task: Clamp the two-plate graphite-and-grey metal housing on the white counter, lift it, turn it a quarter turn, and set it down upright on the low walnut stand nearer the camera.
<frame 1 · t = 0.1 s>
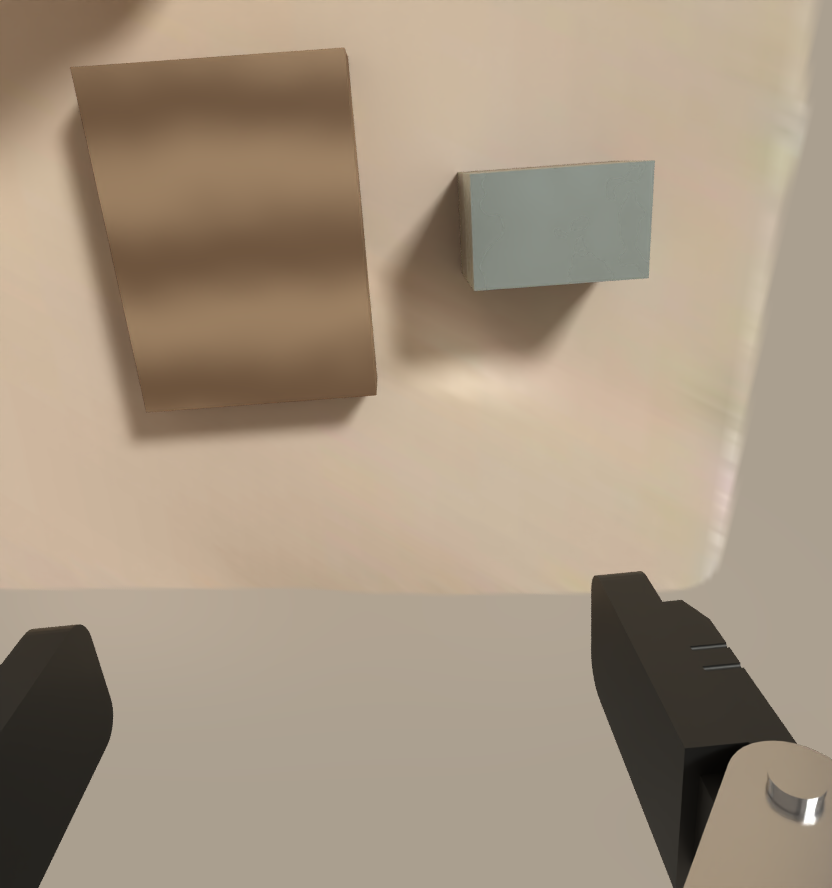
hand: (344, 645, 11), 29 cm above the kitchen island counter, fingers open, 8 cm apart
walnut stand: (248, 239, 37), on the kitchen island counter
housing: (535, 218, 37), on the kitchen island counter
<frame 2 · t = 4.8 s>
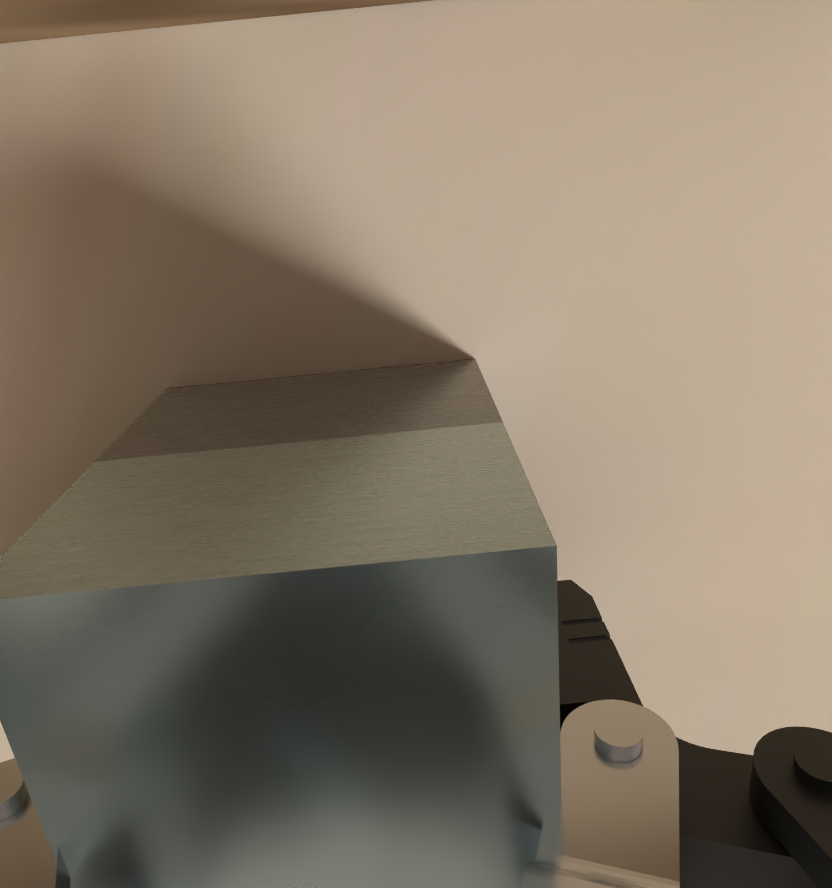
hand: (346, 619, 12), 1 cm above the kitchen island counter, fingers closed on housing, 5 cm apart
housing: (351, 584, 13), on the kitchen island counter, touching gripper
when the fingers open (4 cm above the kitchen island counter, at t = 12.4 s): housing stays where it is, resting on walnut stand.
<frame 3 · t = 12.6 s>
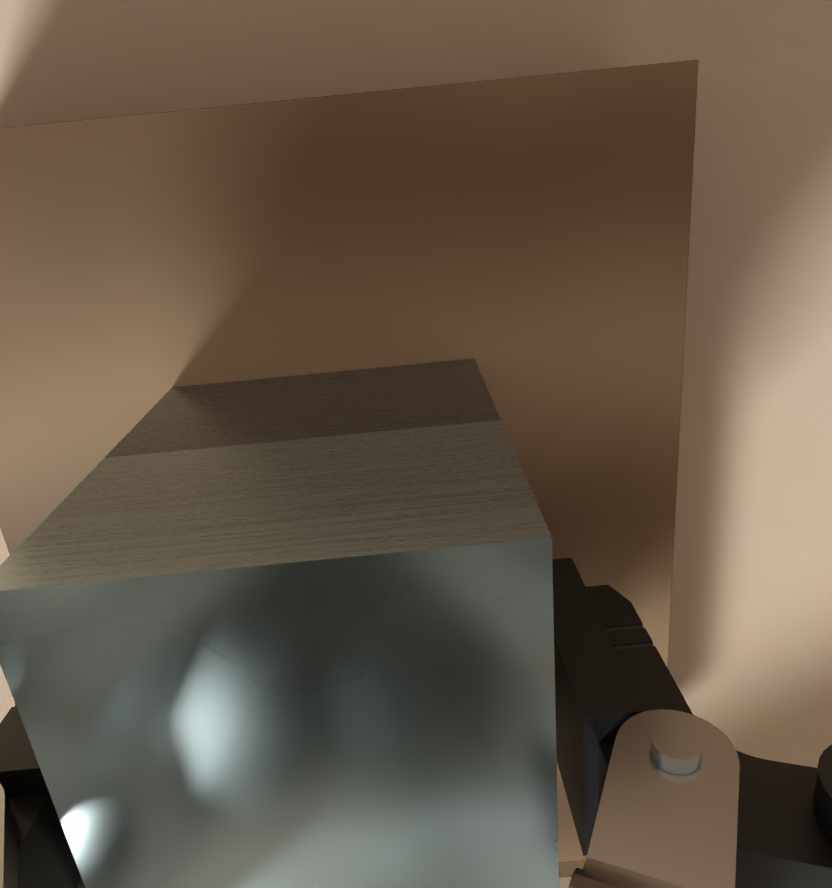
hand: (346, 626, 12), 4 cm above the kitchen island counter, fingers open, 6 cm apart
walnut stand: (357, 504, 16), on the kitchen island counter
housing: (352, 580, 13), point 3 cm above the kitchen island counter, touching walnut stand
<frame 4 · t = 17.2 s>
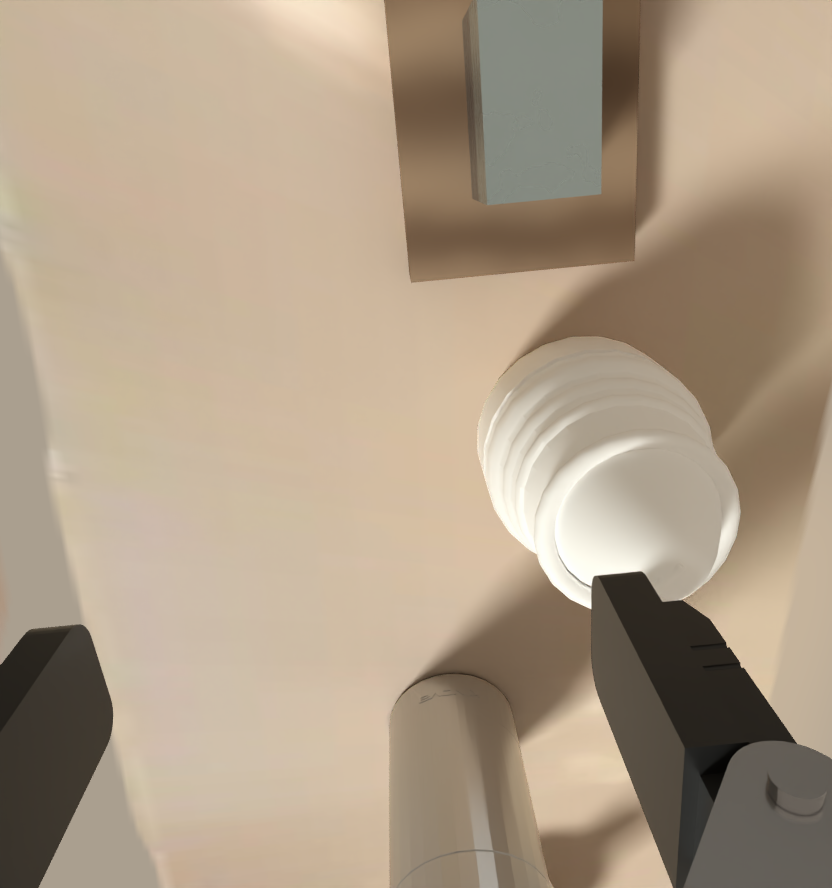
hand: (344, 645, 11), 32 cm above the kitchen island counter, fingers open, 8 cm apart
honey pot: (577, 434, 45), on the kitchen island counter
walnut stand: (507, 111, 38), on the kitchen island counter
housing: (517, 108, 35), point 3 cm above the kitchen island counter, touching walnut stand
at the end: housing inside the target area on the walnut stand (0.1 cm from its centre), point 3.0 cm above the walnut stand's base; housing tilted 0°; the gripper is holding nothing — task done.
